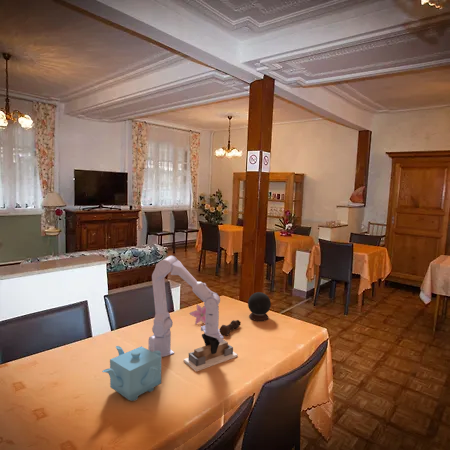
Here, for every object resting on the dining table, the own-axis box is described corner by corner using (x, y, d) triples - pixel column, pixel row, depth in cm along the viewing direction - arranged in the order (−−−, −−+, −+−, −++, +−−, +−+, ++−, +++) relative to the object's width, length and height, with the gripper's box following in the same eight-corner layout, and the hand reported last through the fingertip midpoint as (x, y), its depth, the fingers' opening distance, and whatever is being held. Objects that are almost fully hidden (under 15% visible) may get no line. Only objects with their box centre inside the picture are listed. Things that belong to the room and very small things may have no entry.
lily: (186, 322, 193) (187, 311, 187) (199, 309, 201) (200, 298, 195) (204, 333, 188) (205, 322, 182) (216, 319, 196) (217, 308, 190)
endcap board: (196, 371, 141) (196, 362, 140) (183, 361, 149) (183, 352, 148) (237, 356, 154) (237, 347, 154) (224, 347, 162) (224, 339, 162)
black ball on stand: (273, 316, 202) (274, 292, 200) (264, 324, 191) (265, 298, 189) (253, 311, 209) (254, 287, 207) (243, 318, 198) (244, 293, 196)
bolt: (239, 329, 188) (224, 338, 175) (232, 323, 190) (217, 331, 177) (244, 321, 186) (229, 330, 173) (237, 315, 188) (222, 323, 175)
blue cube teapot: (162, 375, 138) (162, 340, 136) (158, 405, 119) (159, 365, 117) (114, 377, 135) (113, 341, 134) (102, 407, 117) (101, 366, 115)
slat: (197, 363, 145) (198, 352, 145) (194, 360, 148) (194, 349, 147) (227, 353, 155) (228, 342, 155) (223, 350, 157) (223, 339, 157)
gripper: (229, 325, 146) (228, 355, 148) (210, 314, 158) (209, 342, 159) (216, 329, 142) (215, 360, 144) (197, 317, 153) (196, 346, 155)
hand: (211, 351), depth 151 cm, fingers open, 3 cm apart
